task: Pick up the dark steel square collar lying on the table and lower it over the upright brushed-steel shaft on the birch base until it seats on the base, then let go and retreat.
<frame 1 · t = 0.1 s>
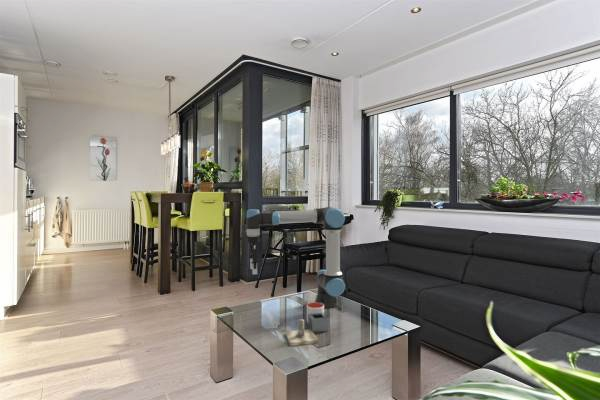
hand: (253, 271, 209), 28 cm above the table, fingers open, 13 cm apart
collar: (318, 328, 193), on the table
cup: (315, 322, 203), on the table
shaft block: (301, 338, 181), on the table
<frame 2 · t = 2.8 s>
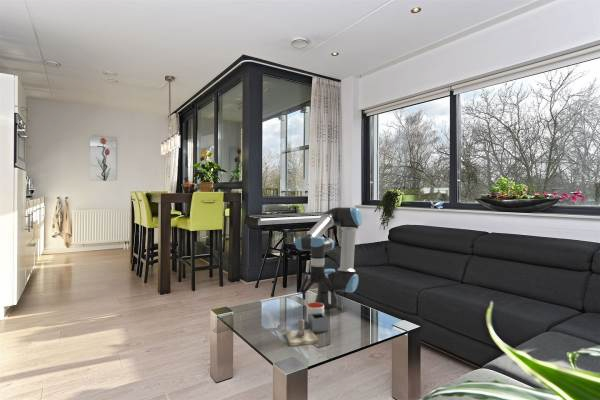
hand: (317, 304, 193), 14 cm above the table, fingers open, 13 cm apart
nothing on the table moved.
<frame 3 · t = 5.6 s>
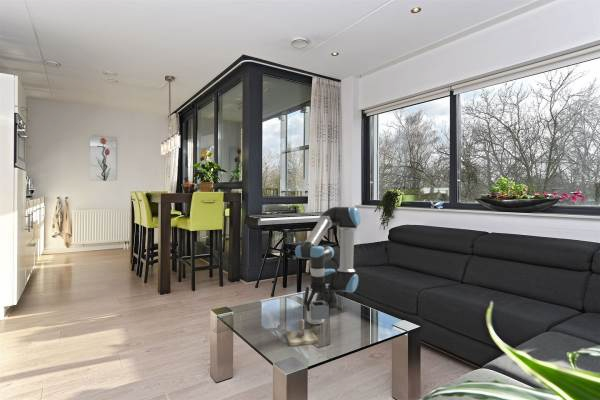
hand: (318, 315, 194), 7 cm above the table, fingers closed on collar, 9 cm apart
collar: (318, 316, 194), point 7 cm above the table, touching gripper
everything else where it was.
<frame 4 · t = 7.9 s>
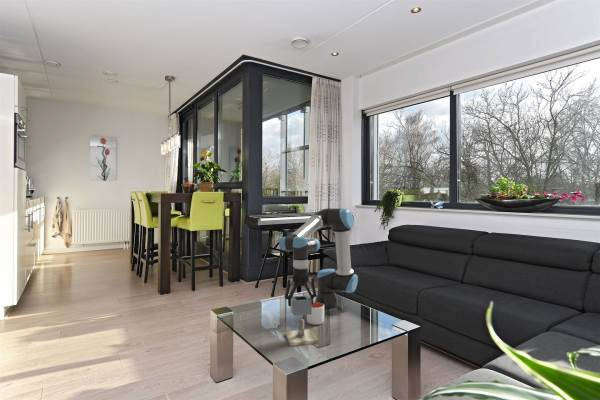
hand: (300, 311, 180), 14 cm above the table, fingers closed on collar, 9 cm apart
collar: (300, 312, 180), point 14 cm above the table, touching gripper
everything else where it was.
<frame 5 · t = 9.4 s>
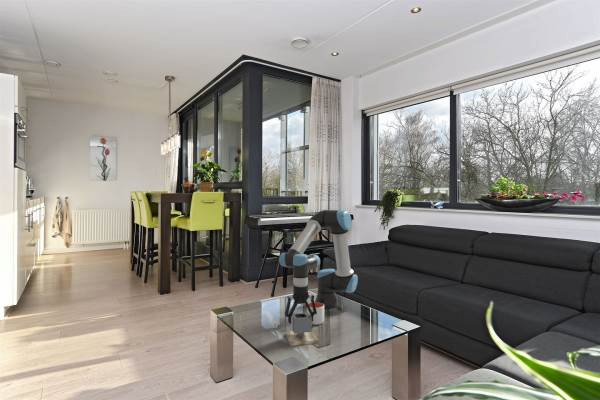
hand: (300, 328, 181), 5 cm above the table, fingers closed on collar, 9 cm apart
collar: (300, 329, 180), point 5 cm above the table, touching gripper
everything else where it was.
when the fingers open (3 cm above the table, at t = 10.3 s): collar drops 1 cm, resting on shaft block.
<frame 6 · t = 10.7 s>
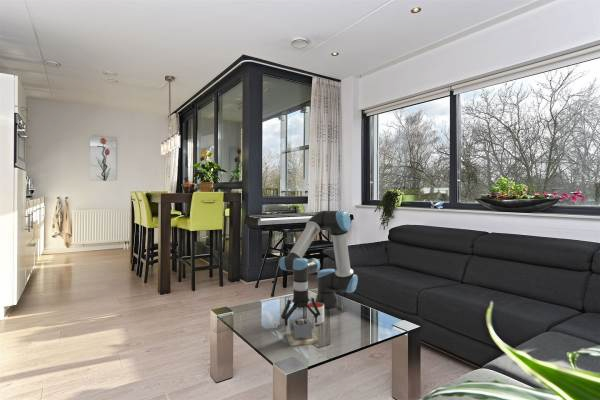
hand: (301, 330, 181), 4 cm above the table, fingers open, 13 cm apart
collar: (301, 335, 181), point 1 cm above the table, touching shaft block
everything else where it was.
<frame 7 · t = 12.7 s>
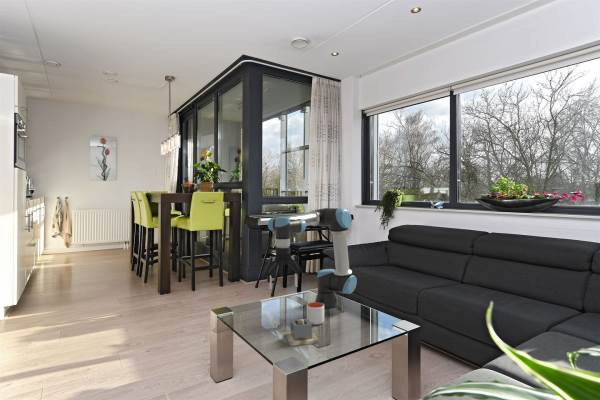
hand: (283, 287, 183), 26 cm above the table, fingers open, 13 cm apart
nothing on the table moved.
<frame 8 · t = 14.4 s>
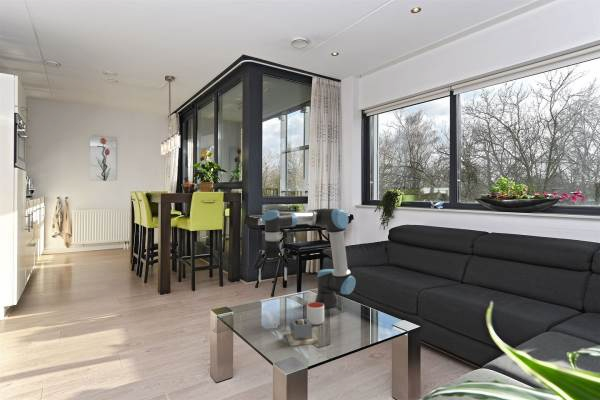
hand: (272, 280, 185), 29 cm above the table, fingers open, 13 cm apart
nothing on the table moved.
at the end: collar 0.1 cm from the shaft block (horizontally); collar point 1.5 cm above the table; the gripper is holding nothing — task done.
